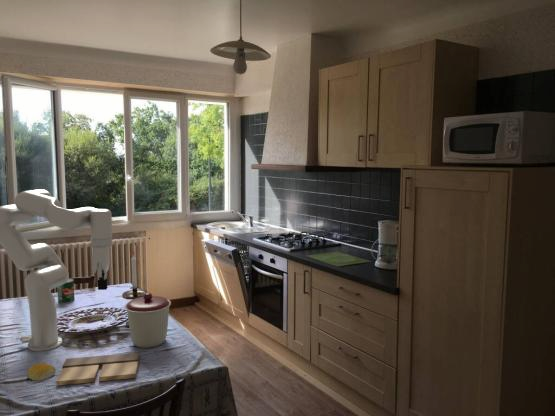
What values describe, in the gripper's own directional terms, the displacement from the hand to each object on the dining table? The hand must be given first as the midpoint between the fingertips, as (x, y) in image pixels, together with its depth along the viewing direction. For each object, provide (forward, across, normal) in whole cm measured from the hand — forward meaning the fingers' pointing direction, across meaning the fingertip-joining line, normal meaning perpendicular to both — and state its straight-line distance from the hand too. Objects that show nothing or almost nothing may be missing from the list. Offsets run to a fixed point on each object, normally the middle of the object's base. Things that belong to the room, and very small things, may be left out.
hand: (102, 289), depth 178 cm
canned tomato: (+28, -68, -30) cm, 80 cm away
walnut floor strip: (+26, +9, +1) cm, 27 cm away
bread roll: (+27, +14, -19) cm, 36 cm away
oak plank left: (+26, +18, -6) cm, 32 cm away
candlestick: (+26, -29, +9) cm, 40 cm away
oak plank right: (+25, +18, +8) cm, 32 cm away
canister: (+26, -7, +16) cm, 32 cm away
